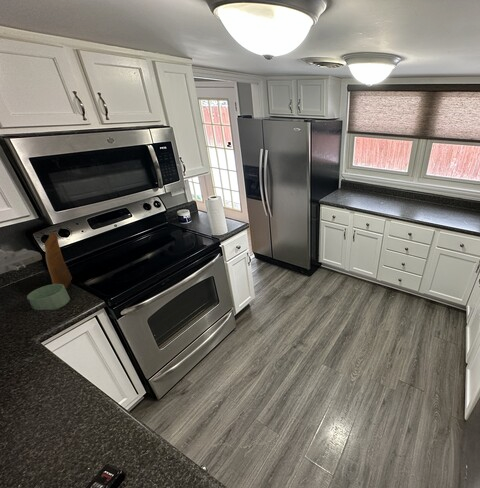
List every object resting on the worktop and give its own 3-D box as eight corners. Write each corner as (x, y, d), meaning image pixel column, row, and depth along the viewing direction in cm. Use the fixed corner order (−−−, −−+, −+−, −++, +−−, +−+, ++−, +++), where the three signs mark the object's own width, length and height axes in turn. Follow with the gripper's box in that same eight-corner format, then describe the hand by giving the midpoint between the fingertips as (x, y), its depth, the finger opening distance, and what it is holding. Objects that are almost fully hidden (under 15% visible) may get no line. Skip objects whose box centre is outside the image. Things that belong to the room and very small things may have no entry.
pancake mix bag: (79, 274, 151) (60, 229, 139) (67, 292, 136) (45, 243, 124) (64, 277, 148) (43, 231, 136) (50, 295, 133) (25, 246, 121)
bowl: (26, 313, 121) (18, 299, 118) (52, 296, 132) (45, 283, 129) (54, 314, 121) (47, 300, 118) (77, 297, 133) (71, 284, 129)
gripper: (-32, 265, 116) (-15, 272, 112) (28, 247, 134) (45, 252, 130) (-24, 277, 119) (-7, 284, 115) (34, 257, 137) (50, 263, 132)
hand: (21, 267), depth 122 cm, fingers closed
